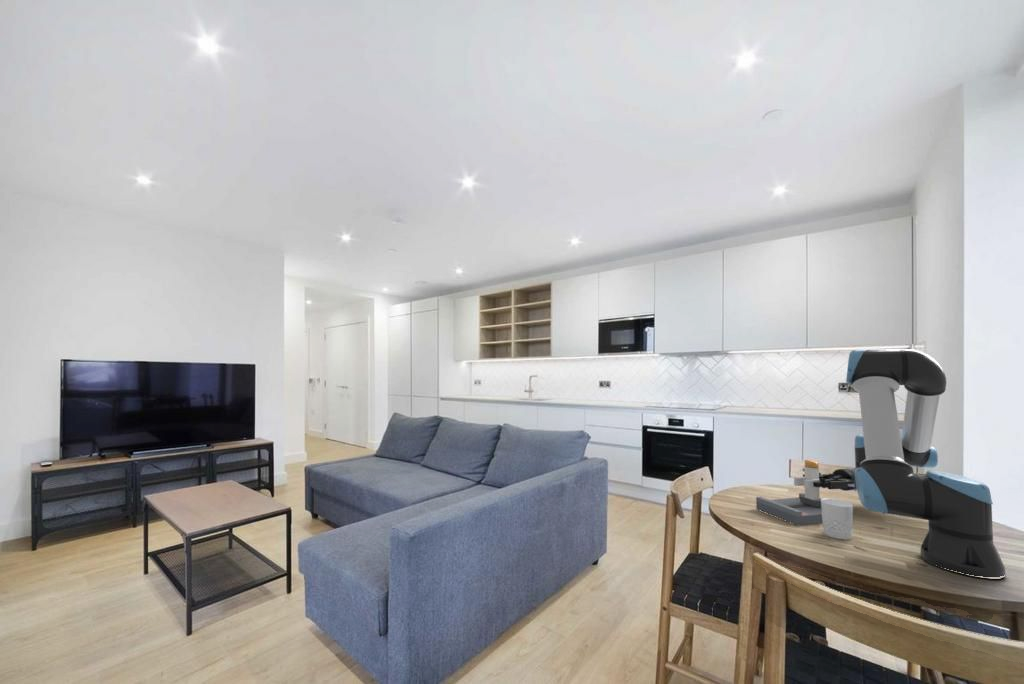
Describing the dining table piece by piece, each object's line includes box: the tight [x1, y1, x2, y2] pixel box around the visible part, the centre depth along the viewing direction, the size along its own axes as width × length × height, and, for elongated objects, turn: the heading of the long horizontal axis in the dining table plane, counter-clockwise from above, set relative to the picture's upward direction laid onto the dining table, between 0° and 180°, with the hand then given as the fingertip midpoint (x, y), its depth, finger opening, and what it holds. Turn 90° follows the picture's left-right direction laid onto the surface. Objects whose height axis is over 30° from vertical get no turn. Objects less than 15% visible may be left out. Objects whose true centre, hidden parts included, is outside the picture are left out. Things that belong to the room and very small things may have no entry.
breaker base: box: [755, 492, 823, 527], centre depth 146 cm, size 16×22×4 cm
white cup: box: [820, 498, 854, 541], centre depth 129 cm, size 8×8×10 cm
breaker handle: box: [800, 459, 822, 507], centre depth 148 cm, size 6×4×15 cm, turn 16°
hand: (800, 482), depth 147 cm, fingers closed on breaker handle, 3 cm apart
